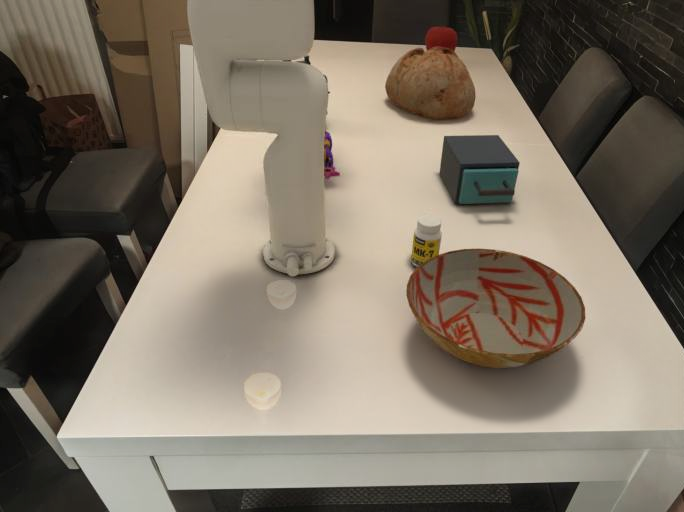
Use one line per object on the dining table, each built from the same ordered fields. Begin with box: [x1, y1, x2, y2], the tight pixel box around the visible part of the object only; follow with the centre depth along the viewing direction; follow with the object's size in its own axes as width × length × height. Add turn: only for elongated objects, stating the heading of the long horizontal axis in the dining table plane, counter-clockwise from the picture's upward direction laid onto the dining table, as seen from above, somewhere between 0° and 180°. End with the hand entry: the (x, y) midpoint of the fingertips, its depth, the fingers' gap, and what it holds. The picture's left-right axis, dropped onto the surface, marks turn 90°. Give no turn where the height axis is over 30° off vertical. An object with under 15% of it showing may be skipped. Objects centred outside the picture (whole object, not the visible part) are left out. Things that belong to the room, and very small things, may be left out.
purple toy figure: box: [324, 130, 341, 180], centre depth 122 cm, size 14×25×12 cm, turn 5°
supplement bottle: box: [410, 214, 443, 268], centre depth 95 cm, size 5×5×8 cm
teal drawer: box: [459, 167, 519, 205], centre depth 114 cm, size 18×11×7 cm, turn 8°
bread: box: [384, 46, 476, 121], centre depth 153 cm, size 26×23×15 cm
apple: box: [424, 26, 459, 52], centre depth 188 cm, size 11×11×12 cm
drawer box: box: [439, 134, 521, 205], centre depth 117 cm, size 14×12×9 cm
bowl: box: [406, 248, 586, 369], centre depth 80 cm, size 25×25×8 cm
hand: (312, 19), depth 109 cm, fingers open, 9 cm apart
